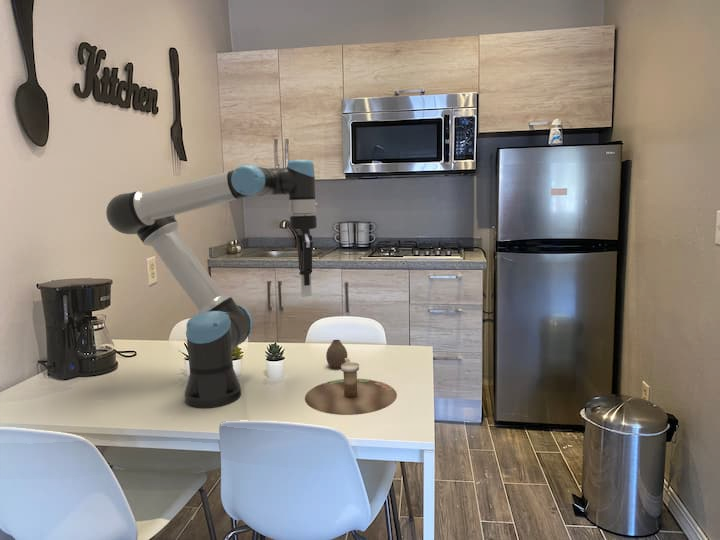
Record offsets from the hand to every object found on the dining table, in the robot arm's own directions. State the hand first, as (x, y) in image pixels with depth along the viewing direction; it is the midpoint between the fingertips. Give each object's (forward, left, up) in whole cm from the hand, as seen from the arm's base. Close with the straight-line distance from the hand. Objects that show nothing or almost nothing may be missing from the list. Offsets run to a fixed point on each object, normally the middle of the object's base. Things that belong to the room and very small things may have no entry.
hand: (306, 295), depth 147 cm
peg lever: (+9, -12, -25) cm, 29 cm away
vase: (+11, +11, -27) cm, 31 cm away
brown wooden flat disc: (+8, -17, -26) cm, 32 cm away
